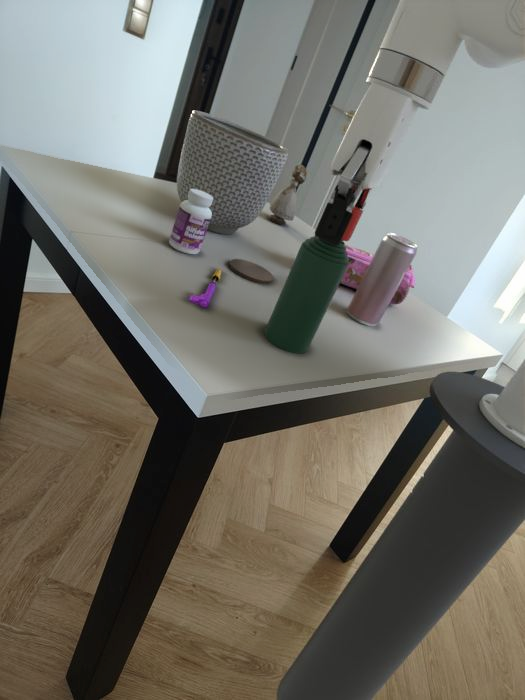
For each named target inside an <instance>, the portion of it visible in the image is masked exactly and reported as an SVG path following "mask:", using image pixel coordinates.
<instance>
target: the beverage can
mask: <svg viewBox="0 0 525 700" xmlns="http://www.w3.org/2000/svg"><path fill="white" fill-rule="evenodd" d="M418 249H419V246H418V244H416V243H415V242H414V241H412V240H410V239H408V238H406V237H404V236H402V235H400V234H397V233H394V232H390V231H387V232H386V233H385V235H384V236H383V237H382V238H381V240H380V242H379V244H378V247H377V249H376V251H375V252H374V253H373V254H374V256H373V258H372V260H371V262H370V264H369V266H368V268H367V270H366V272H365V274H364V276H363V278H362V280H361V282H360V284H359V286H358V288H357V289H355V290H356V291H355V292H354V295H353V296H352V299H351V300H350V302H349V305H348V306H347V313H348V316H349V317H350V318H351V319H353V320H354V321H356V322H358V323H360V324H362V325H365V326H367V327H376V326H377V325H378V324H379V323H380V322H381V320H382V318H383V316H384V315H385V312H386V310H387V309H388V307H389V305H390V304H391V303H390V301H391V300H392V298H393V296H394V294H395V292H396V290H397V288H398V287H399V285H400V283H401V281H402V279H403V277H404V275H405V274H406V272H407V270H408V268H409V266H410V265H412V262H413V261H414V259H415V257H416V255H417V252H418Z"/></svg>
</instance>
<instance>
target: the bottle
mask: <svg viewBox="0 0 525 700" xmlns="http://www.w3.org/2000/svg"><path fill="white" fill-rule="evenodd" d="M314 235H315V234H314ZM344 245H346V242H345V241H342V240H341V242H340V244H339V245H333V244H331V243H329V242H327V241H325V240H323V239H321V238H319V237H317V236H316V235H315V237H314V236H310V237H309V238H306V239H304V241H302V243H301V245H300V247H299V249H298V252H297V253H296V257H295V259H294V261H293V263H292V265H291V268H290V270H289V273H288V275H287V277H286V280H285V282H284V284H283V287H282V289H281V291H280V293H279V296H278V299H277V301H276V303H275V305H274V308H273V310H272V312H271V315H270V317H269V319H268V322H267V324H266V326H265V329H264V331H263V332H264V337H266V339H267V340H268V341H269V342H270V343H272V344H273V345H274V346H276V347H278V348H280V349H281V350H284V351H287V352H289V353H294V354H304V353H306V352H308V350H309V348H310V346H311V343H312V341H314V337H315V336H316V333H317V331H318V329H319V327H320V326H321V323H322V321H323V319H324V317H325V315H326V313H327V311H328V309H329V306H330V305H331V302H332V300H333V298H334V296H335V295H336V292H337V290H338V288H339V286H340V284H341V283H340V282H341V280H342V278H343V276H344V273H345V271H346V269H347V267H348V265H349V262H348V261H349V257H348V256H347V255H348V253H347V252H346V247H345V246H344Z"/></svg>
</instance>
